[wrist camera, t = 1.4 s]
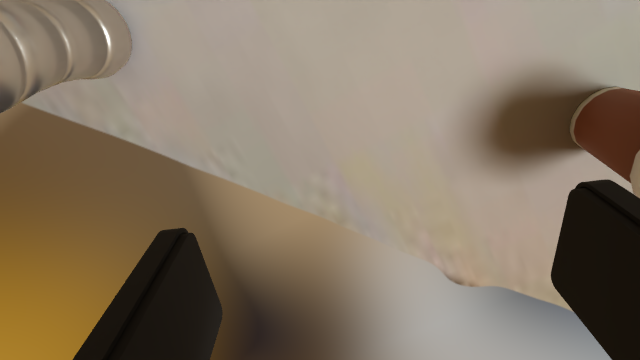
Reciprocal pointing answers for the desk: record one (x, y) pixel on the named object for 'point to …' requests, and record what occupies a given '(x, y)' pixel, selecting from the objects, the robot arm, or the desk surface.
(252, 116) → the desk surface
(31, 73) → the plastic bottle
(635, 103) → the coffee cup
